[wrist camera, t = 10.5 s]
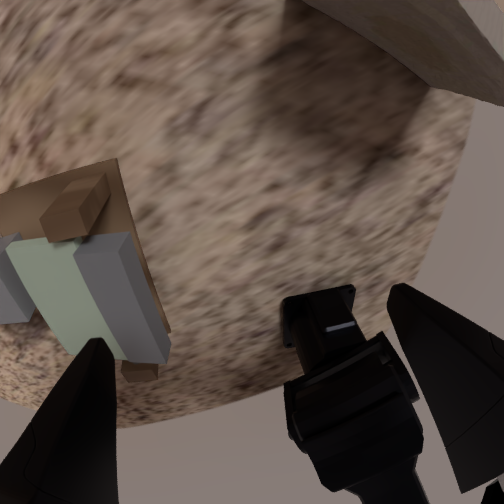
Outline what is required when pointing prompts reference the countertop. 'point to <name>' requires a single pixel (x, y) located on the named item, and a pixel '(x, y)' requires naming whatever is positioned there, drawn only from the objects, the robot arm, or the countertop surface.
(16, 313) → the grey rectangular block
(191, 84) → the countertop surface
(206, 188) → the countertop surface
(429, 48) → the grey plaster block
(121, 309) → the trapdoor
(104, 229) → the trapdoor frame
